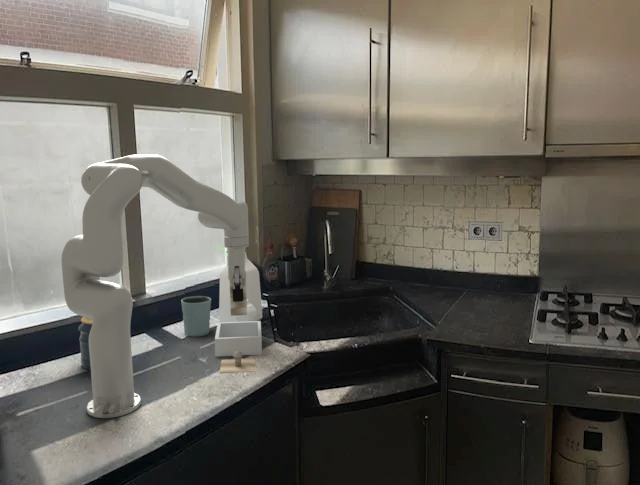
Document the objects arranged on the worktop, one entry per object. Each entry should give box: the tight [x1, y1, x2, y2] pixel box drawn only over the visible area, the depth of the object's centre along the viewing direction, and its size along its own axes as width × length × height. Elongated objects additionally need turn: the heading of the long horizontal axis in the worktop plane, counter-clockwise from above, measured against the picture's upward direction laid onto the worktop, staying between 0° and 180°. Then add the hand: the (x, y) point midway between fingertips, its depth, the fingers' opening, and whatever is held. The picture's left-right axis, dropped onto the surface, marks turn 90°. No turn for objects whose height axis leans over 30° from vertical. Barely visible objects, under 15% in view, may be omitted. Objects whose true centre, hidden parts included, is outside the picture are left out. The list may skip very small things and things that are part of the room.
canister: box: [77, 316, 93, 371], centre depth 160 cm, size 13×13×18 cm
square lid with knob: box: [219, 351, 257, 374], centre depth 155 cm, size 10×10×6 cm
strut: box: [229, 271, 247, 316], centre depth 168 cm, size 5×5×13 cm
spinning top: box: [235, 300, 257, 322], centre depth 187 cm, size 8×8×12 cm
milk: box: [218, 251, 263, 323], centre depth 200 cm, size 12×12×26 cm
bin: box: [214, 320, 263, 357], centre depth 170 cm, size 16×14×7 cm
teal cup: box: [180, 295, 212, 337], centre depth 188 cm, size 10×10×12 cm
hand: (238, 298), depth 168 cm, fingers closed on strut, 5 cm apart
